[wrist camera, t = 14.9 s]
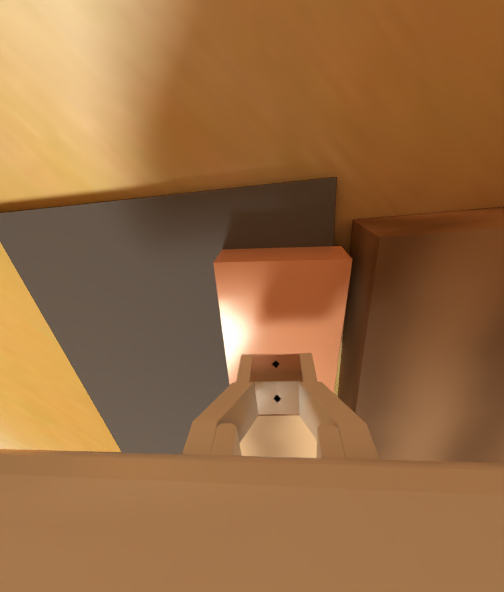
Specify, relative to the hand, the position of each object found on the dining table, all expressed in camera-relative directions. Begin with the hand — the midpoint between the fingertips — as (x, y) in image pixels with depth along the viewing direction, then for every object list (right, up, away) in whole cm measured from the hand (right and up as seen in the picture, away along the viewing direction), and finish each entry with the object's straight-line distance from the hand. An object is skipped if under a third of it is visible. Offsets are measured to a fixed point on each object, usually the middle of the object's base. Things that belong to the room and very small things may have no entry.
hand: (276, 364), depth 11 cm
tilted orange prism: (+1, +2, +4) cm, 4 cm away
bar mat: (-5, -3, +7) cm, 9 cm away
